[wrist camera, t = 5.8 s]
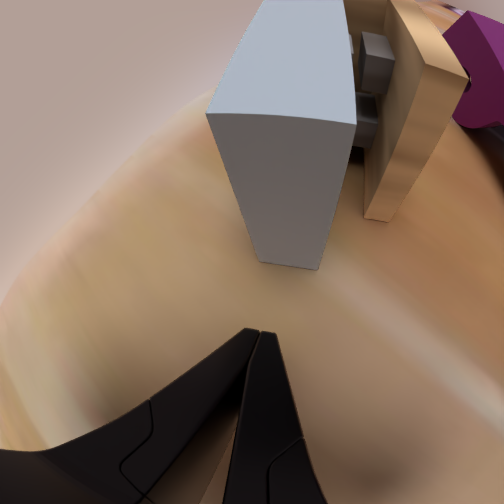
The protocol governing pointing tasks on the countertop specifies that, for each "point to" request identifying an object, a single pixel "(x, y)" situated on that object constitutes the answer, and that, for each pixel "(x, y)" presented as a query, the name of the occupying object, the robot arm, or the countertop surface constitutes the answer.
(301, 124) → the pale grey oblong block
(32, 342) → the countertop surface
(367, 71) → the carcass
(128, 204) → the countertop surface
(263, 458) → the robot arm
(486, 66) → the mounting bracket
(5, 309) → the countertop surface
